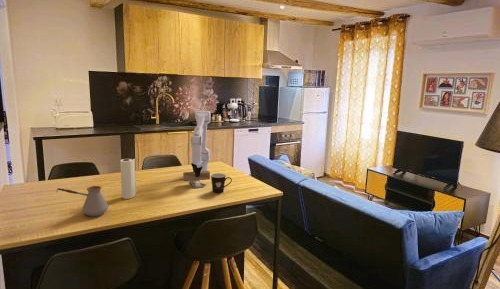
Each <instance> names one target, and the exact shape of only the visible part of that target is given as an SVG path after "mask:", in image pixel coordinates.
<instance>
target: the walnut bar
mask: <svg viewBox="0 0 500 289" xmlns="http://www.w3.org/2000/svg"><path fill="white" fill-rule="evenodd" d="M182 174H183V178H182V179H183V181H184V182H190V181H195V180H200V181H205V180H207V181H208V180H210V179H211V171H209V170H208V171H201V172H200V176H199V177H196V176H195V172H193V171H186V172H184V171H183V173H182Z"/></svg>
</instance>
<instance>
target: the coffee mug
mask: <svg viewBox="0 0 500 289" xmlns="http://www.w3.org/2000/svg"><path fill="white" fill-rule="evenodd" d="M210 179H211V186H212V187H211V190H212V193H213V194H223V193H224V189H225V188H226V187H227V186H229V185H230V184H231V183H232V181H233V180H232V177H230V176H227V177H226V174H224V173H219V172H217V173H211V174H210ZM227 179H230V181H229V182H228V183H227V184H226V181H227ZM225 184H226V185H225Z"/></svg>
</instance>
